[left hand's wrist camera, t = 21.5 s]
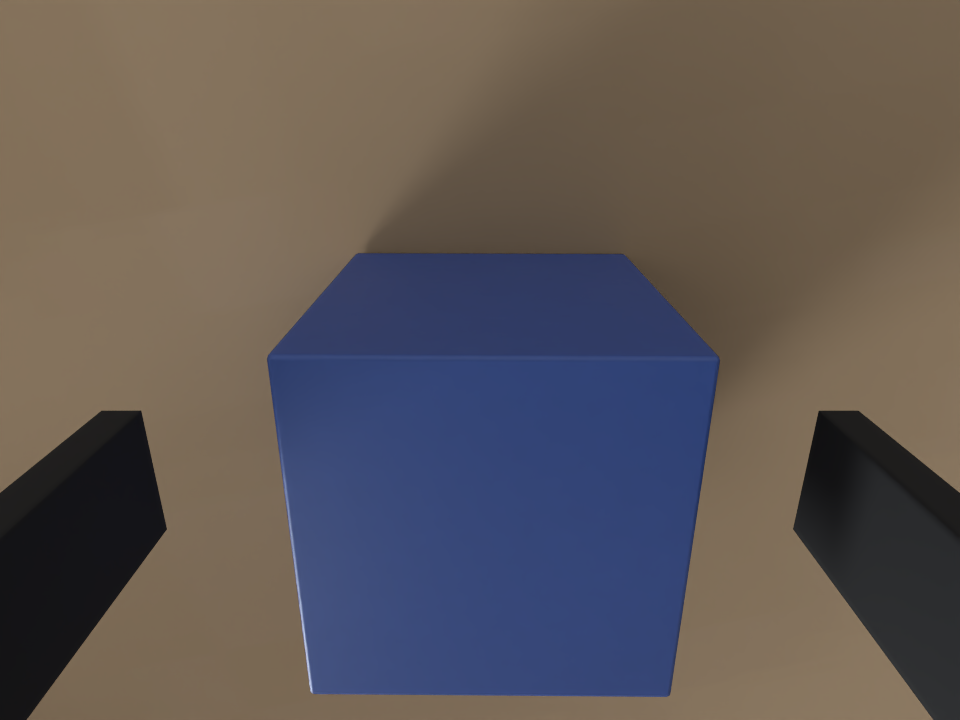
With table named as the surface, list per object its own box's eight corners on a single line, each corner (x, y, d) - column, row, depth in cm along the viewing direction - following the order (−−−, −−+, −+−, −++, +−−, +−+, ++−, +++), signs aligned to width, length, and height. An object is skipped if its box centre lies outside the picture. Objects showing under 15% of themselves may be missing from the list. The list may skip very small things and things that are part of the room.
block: (372, 486, 18) (309, 695, 12) (355, 252, 16) (264, 355, 9) (605, 487, 18) (671, 698, 12) (625, 253, 16) (722, 357, 9)
